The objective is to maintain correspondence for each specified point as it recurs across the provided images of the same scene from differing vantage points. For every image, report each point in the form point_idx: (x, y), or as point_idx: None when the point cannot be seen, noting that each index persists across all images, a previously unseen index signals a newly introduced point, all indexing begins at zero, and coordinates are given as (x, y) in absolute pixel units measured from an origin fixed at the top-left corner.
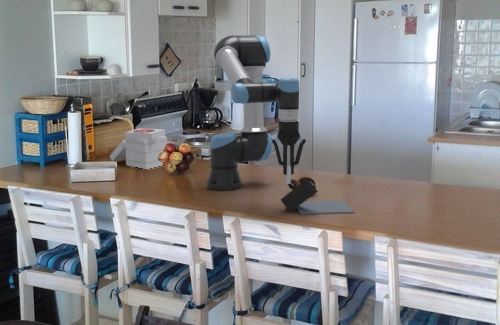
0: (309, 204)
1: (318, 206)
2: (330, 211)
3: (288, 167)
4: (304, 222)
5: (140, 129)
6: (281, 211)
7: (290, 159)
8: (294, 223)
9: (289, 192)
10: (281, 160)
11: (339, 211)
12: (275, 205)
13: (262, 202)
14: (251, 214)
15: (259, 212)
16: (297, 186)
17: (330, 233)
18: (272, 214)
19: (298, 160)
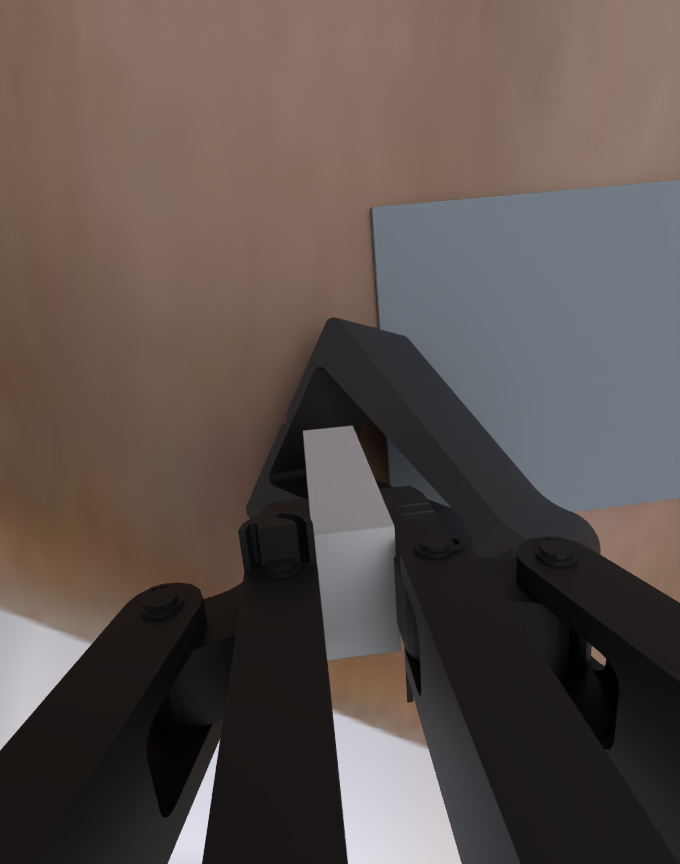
0: (494, 295)
1: (551, 358)
2: (603, 489)
3: (352, 649)
4: (401, 681)
5: None
6: (262, 459)
7: (430, 712)
8: (341, 702)
9: (336, 381)
10: (196, 788)
11: (661, 488)
12: (209, 280)
13: (78, 165)
14: (43, 540)
15: (96, 489)
16: (428, 481)
17: None
18: (199, 534)
19: (608, 716)
